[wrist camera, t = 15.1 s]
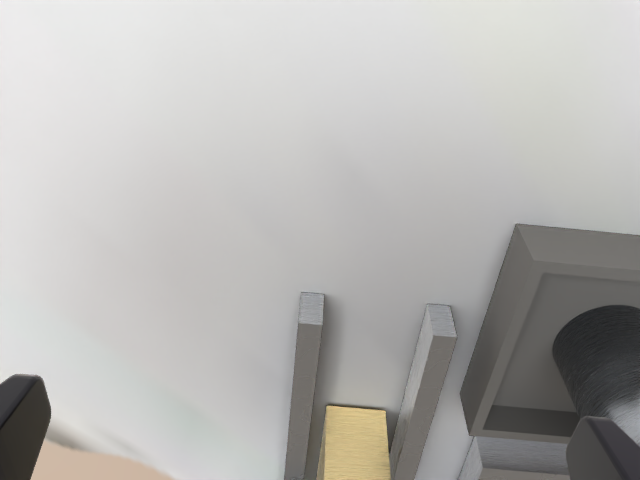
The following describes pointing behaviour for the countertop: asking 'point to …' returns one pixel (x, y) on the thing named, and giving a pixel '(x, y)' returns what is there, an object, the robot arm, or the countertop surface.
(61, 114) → the countertop surface
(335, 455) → the tan boxy piece
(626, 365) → the peg
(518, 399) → the gray square tray
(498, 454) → the socket collar
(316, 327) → the key guide
